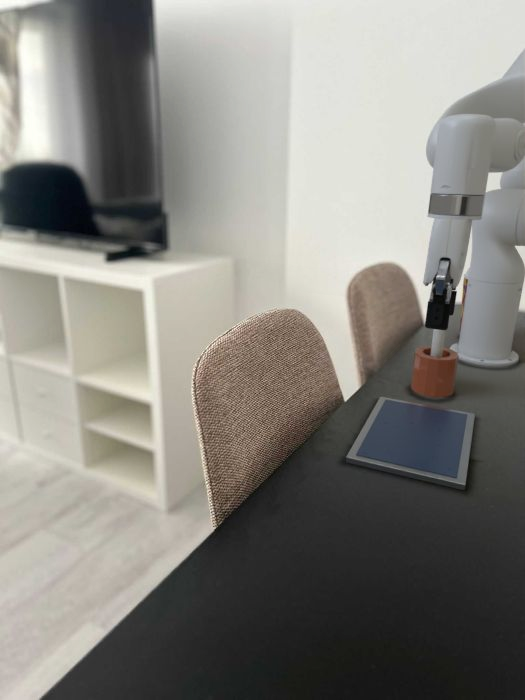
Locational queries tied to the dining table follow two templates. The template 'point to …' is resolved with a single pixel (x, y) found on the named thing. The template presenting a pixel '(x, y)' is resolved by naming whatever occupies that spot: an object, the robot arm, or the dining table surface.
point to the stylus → (437, 343)
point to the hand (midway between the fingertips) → (439, 321)
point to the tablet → (416, 442)
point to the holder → (434, 372)
